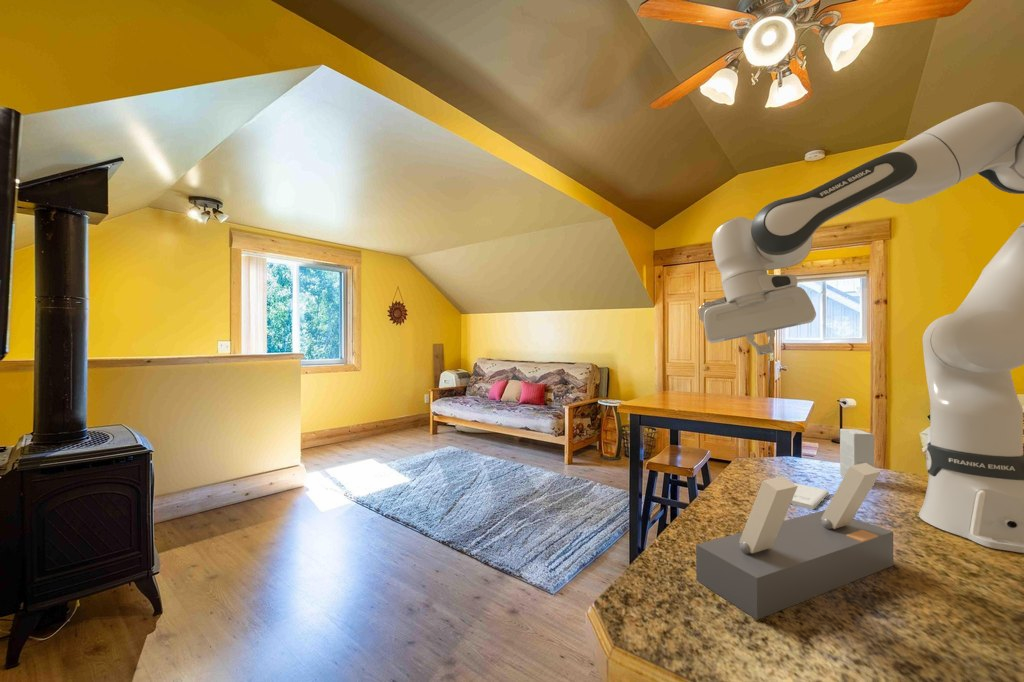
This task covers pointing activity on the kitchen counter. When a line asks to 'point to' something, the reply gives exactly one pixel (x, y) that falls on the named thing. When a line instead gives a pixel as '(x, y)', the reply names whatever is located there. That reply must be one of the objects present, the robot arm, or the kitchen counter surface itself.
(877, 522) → the kitchen counter surface
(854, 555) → the switch box
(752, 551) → the lever
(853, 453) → the skincare box
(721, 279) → the robot arm
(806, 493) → the external hard drive
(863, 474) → the lever
